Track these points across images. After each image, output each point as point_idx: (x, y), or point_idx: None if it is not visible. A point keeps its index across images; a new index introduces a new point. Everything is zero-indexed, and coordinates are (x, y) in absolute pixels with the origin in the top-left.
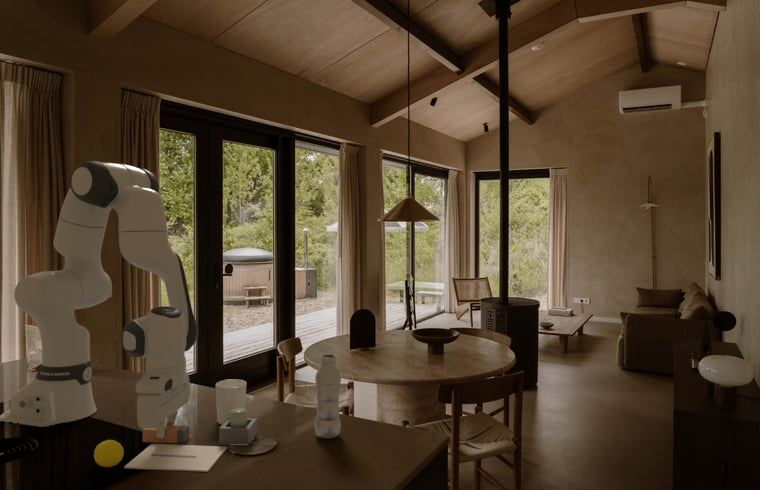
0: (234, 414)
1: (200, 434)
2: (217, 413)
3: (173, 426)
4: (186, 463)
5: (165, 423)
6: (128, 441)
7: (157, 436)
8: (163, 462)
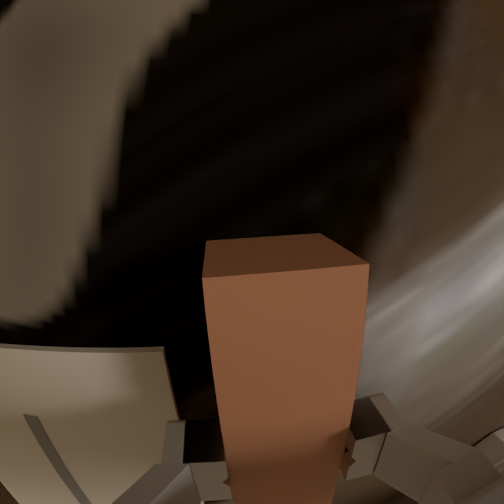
0: None
1: (360, 477)
2: (497, 464)
3: (320, 481)
4: None
5: (354, 441)
6: (198, 107)
7: (169, 425)
8: (17, 467)
